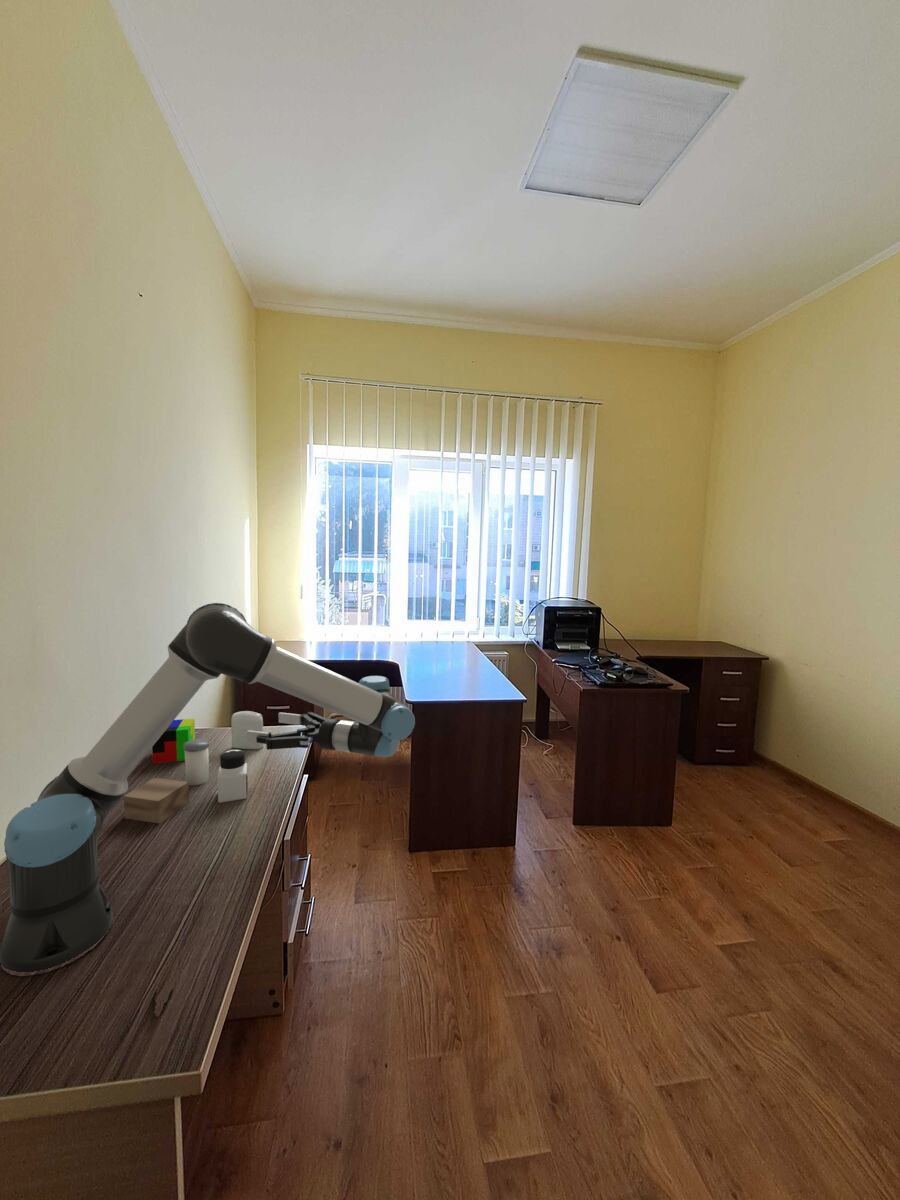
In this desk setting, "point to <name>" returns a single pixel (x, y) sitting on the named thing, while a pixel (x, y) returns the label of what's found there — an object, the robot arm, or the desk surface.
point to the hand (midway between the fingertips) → (264, 726)
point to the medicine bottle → (232, 776)
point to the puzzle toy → (174, 741)
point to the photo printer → (245, 729)
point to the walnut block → (156, 800)
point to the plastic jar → (196, 761)
